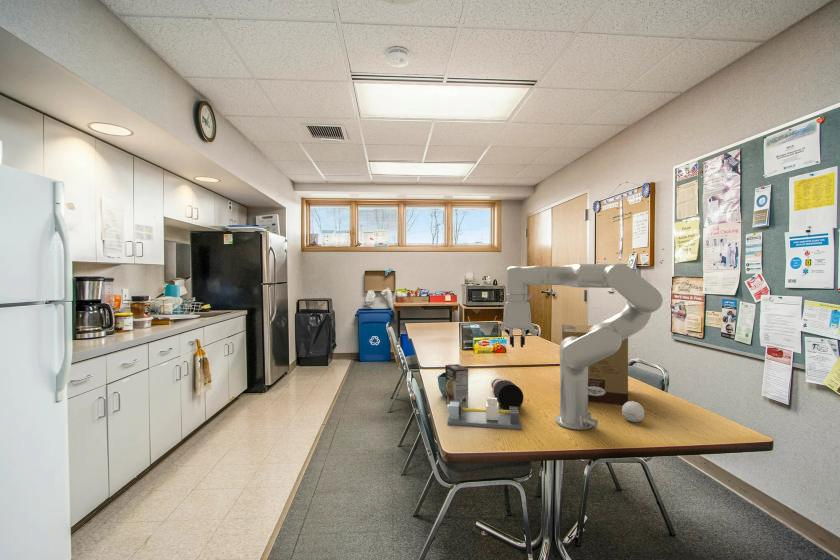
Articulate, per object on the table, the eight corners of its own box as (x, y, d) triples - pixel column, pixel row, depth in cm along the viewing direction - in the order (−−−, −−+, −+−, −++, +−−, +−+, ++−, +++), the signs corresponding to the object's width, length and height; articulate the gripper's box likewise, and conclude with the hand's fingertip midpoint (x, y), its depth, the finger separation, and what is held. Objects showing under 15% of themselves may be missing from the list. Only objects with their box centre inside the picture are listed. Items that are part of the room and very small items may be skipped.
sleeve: (498, 415, 138) (498, 396, 138) (498, 420, 134) (498, 400, 134) (486, 414, 139) (486, 395, 139) (486, 419, 135) (486, 399, 134)
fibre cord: (518, 413, 135) (518, 410, 135) (518, 414, 134) (518, 411, 134) (457, 410, 139) (457, 406, 139) (457, 411, 138) (457, 408, 138)
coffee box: (444, 402, 158) (444, 365, 158) (458, 400, 161) (457, 363, 160) (455, 409, 150) (454, 369, 149) (468, 407, 152) (468, 368, 152)
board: (518, 418, 140) (518, 405, 140) (521, 429, 130) (521, 415, 130) (450, 414, 144) (450, 401, 144) (447, 424, 134) (447, 410, 134)
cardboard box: (618, 389, 176) (619, 326, 176) (628, 406, 152) (628, 333, 152) (561, 383, 185) (562, 323, 185) (562, 399, 161) (562, 330, 161)
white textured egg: (617, 419, 138) (617, 400, 138) (630, 416, 141) (630, 397, 141) (642, 429, 129) (642, 408, 129) (656, 426, 132) (656, 405, 132)
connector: (462, 414, 141) (461, 402, 141) (461, 419, 136) (461, 406, 136) (448, 413, 142) (448, 401, 142) (446, 418, 137) (446, 405, 137)
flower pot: (443, 390, 174) (443, 371, 174) (461, 393, 171) (461, 373, 171) (437, 396, 166) (437, 376, 166) (456, 398, 163) (455, 378, 163)
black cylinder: (499, 396, 180) (508, 377, 181) (516, 414, 146) (527, 391, 147) (481, 386, 180) (490, 368, 181) (494, 402, 147) (505, 380, 148)
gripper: (537, 298, 143) (537, 345, 143) (495, 298, 146) (495, 344, 146) (540, 299, 136) (540, 349, 136) (495, 299, 138) (495, 348, 139)
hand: (517, 346), depth 141 cm, fingers open, 2 cm apart
